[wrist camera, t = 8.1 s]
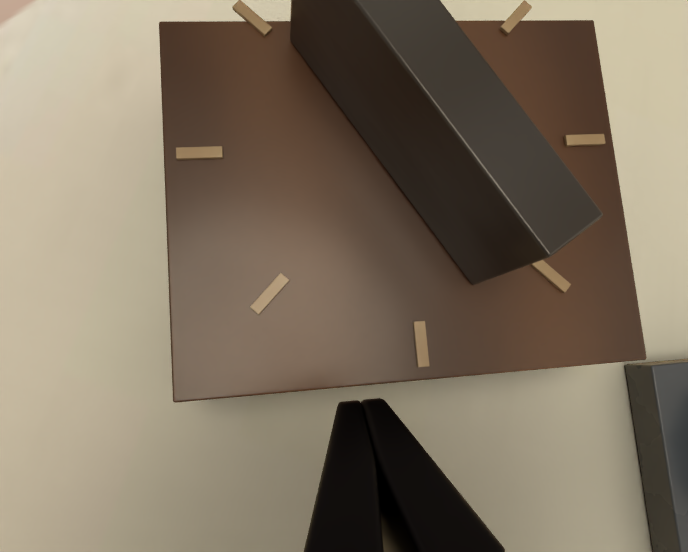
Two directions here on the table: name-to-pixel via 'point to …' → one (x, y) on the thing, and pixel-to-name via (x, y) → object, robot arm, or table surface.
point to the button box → (662, 447)
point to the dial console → (367, 225)
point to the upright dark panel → (445, 130)
